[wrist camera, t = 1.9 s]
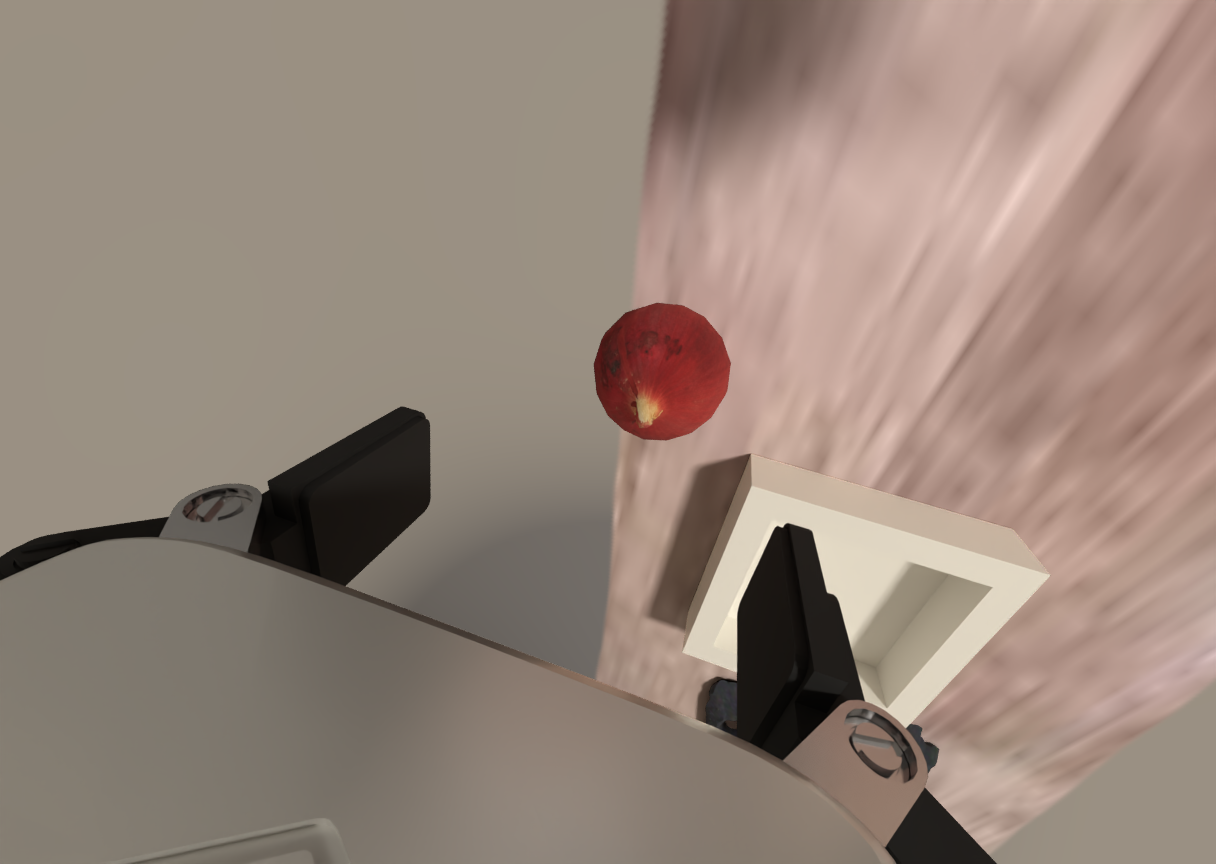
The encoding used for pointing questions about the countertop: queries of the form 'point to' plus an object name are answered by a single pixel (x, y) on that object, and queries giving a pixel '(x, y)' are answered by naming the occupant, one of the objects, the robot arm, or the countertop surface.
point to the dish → (871, 579)
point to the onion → (661, 371)
